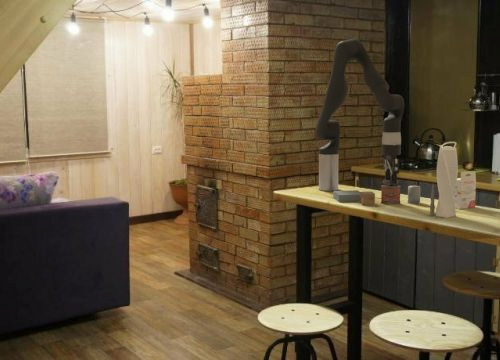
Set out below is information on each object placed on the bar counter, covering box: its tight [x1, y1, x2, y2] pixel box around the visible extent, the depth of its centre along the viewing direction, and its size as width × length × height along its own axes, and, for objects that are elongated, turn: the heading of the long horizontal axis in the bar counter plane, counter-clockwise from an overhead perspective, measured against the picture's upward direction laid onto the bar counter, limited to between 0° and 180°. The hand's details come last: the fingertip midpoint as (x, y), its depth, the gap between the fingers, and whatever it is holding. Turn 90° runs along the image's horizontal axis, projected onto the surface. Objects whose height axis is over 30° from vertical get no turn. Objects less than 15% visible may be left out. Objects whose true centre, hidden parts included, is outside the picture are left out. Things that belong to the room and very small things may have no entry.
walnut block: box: [359, 190, 376, 206], centre depth 255 cm, size 5×5×5 cm
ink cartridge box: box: [453, 170, 477, 210], centre depth 245 cm, size 9×5×15 cm, turn 117°
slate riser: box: [332, 189, 361, 203], centre depth 267 cm, size 11×11×3 cm
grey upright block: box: [407, 185, 421, 205], centre depth 257 cm, size 5×5×7 cm
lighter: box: [380, 179, 402, 205], centre depth 256 cm, size 8×3×10 cm, turn 84°
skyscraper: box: [428, 141, 459, 219], centre depth 228 cm, size 8×8×28 cm
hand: (390, 182), depth 255 cm, fingers open, 8 cm apart
